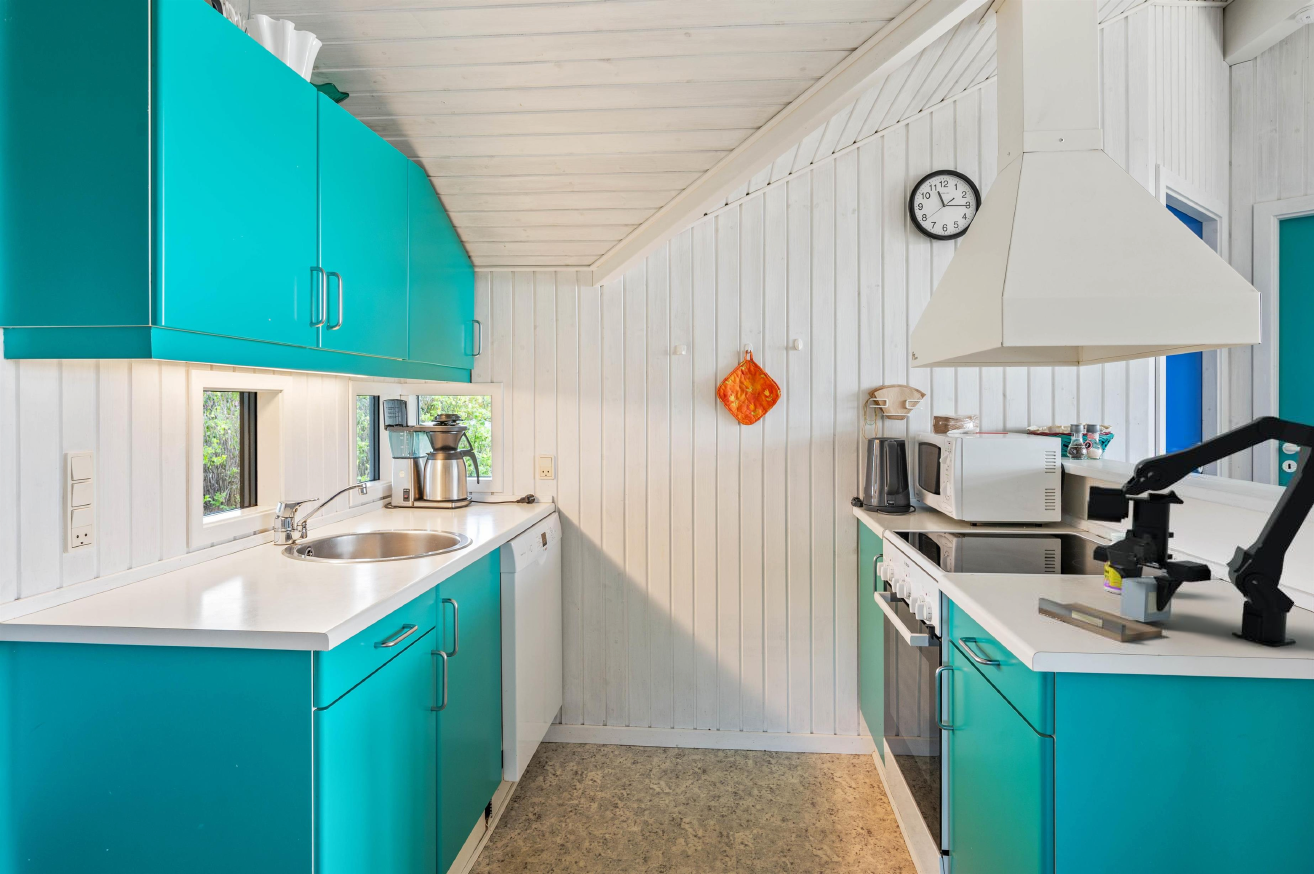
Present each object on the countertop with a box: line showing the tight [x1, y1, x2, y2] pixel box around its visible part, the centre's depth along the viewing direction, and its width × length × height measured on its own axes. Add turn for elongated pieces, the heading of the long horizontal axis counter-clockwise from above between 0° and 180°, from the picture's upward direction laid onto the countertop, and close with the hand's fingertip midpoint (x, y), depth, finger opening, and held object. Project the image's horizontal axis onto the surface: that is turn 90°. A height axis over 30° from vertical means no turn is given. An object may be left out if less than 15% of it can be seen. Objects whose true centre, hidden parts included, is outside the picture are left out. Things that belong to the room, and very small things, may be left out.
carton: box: [1119, 575, 1173, 623], centre depth 131 cm, size 5×7×7 cm
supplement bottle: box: [1103, 531, 1141, 595], centre depth 152 cm, size 7×7×13 cm
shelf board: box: [1037, 597, 1163, 643], centre depth 129 cm, size 10×17×3 cm, turn 19°
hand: (1146, 607), depth 131 cm, fingers closed on carton, 5 cm apart
